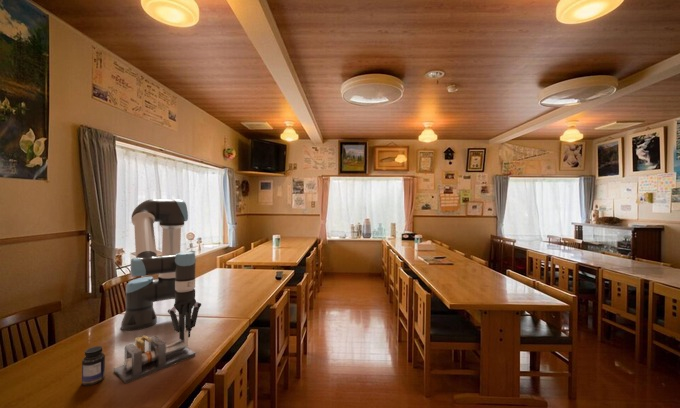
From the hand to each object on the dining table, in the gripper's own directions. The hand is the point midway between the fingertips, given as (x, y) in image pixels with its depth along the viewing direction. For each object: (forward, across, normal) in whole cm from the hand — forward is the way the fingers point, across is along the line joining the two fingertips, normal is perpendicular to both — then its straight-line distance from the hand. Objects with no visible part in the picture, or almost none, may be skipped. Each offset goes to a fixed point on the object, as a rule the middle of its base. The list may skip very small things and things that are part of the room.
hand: (184, 346), depth 122 cm
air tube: (+1, -11, 0) cm, 11 cm away
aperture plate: (+1, -15, +2) cm, 15 cm away
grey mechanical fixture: (+3, -11, 0) cm, 11 cm away
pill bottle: (+3, -29, +5) cm, 29 cm away
